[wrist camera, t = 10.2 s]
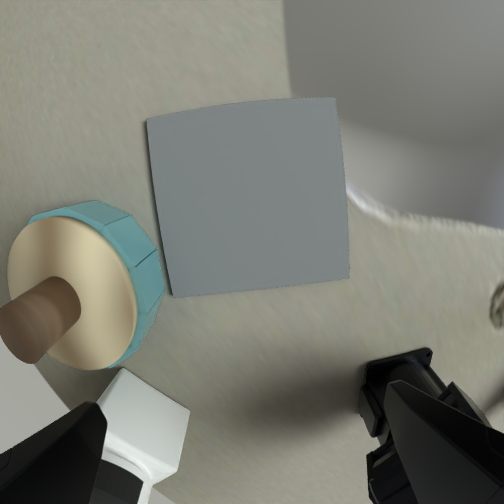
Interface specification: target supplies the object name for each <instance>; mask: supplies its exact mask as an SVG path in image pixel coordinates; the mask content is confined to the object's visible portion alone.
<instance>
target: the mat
mask: <svg viewBox="0 0 504 504" xmlns="http://www.w3.org/2000/svg"><path fill="white" fill-rule="evenodd" d="M146 120H147V131H148V142H149V151H150V160H151V169H152V177H153V184H154V192H155V199H156V205H157V212H158V218H159V224H160V230H161V236H162V242H163V248H164V253H165V258H166V263H167V269H168V274H169V278H170V283H171V288H172V293H173V297H174V298H177V297H189V296H200V295H211V294H222V293H232V292H242V291H251V290H260V289H269V288H278V287H287V286H295V285H303V284H311V283H319V282H326V281H334V280H341V279H349V234H348V214H347V198H346V185H345V173H344V163H343V154H342V144H341V135H340V128H339V120H338V113H337V106H336V100H335V97H320V98H318V97H315V98H290V99H274V100H262V101H252V102H242V103H234V104H226V105H219V106H212V107H206V108H200V109H194V110H188V111H183V112H178V113H172V114H168V115H163V116H158V117H154V118H149V119H146Z"/></svg>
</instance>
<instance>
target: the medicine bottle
mask: <svg viewBox="0 0 504 504" xmlns="http://www.w3.org/2000/svg"><path fill="white" fill-rule="evenodd" d="M96 403H97V404H98V405H99V406H100V408H101V410H102V412H103V414H104V415H105V417H106V419H107V423H108V426H107V432H106V437H105V442H104V447H103V453H102V458H101V463H100V467H99V470H98V474H97V477H96V481H95V484H94V488H93V492H92V495H91V499H90V503H89V504H148V499H149V496H150V492H151V489H152V485H154V484H156V483H158V482H159V481H161V480H163V479H165V478H167V477H168V476H170V475H172V474H174V473H175V472H176V471H177V470H178V466H179V461H180V456H181V452H182V447H183V443H184V438H185V434H186V429H187V425H188V420H189V416H190V411H189V410H188V409H187V408H185V407H183V406H181V405H180V404H178V403H176V402H175V401H173V400H172V399H170V398H168V397H167V396H165V395H164V394H162V393H160V392H159V391H157V390H156V389H154V388H153V387H151V386H150V385H148V384H147V383H145V382H144V381H142V380H141V379H139V378H138V377H136V376H135V375H134V374H132V373H131V372H129V371H128V370H127V369H125V368H122V369H120V371H119V372H118V373H117V375H116V376H115V377H114V379H113V380H112V381H111V383H110V384H109V385H108V387H107V388H106V389H105V391H104V392H103V394H102V395H101V396H100V398H99V399H98V400H97V402H96Z"/></svg>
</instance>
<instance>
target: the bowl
mask: <svg viewBox="0 0 504 504" xmlns="http://www.w3.org/2000/svg"><path fill="white" fill-rule="evenodd" d="M130 215H131V214H128V213H126V212H124V211H121V210H119V209H117V208H114V207H112V206H110V205H108V204H105V203H103V202H101V201H98V200H94V201H90V202H85V203H81V204H77V205H72V206H68V207H64V208H60V209H56V210H52V211H48V212H45V213H41V214H37V215H34V216H33V217H32V218H31V219H30V221H29V222H28V224H27V225H26V226H28V225H29V224H31V223H32V222H35V221H37V220H40V219H43V218H47V217H51V216H69V217H74V218H76V219H79V220H82V221H84V222H85V223H87V224H89V225H91V226H92V227H94V228H95V229H96V230H98V231H99V232H100V233H101V234H102V235H103V236H104V237H106V238H107V239H108V240H109V242H110V243H111V244H112V245H113V246H114V247H115V249H116V250H117V252H118V253H119V255H120V256H121V257H122V259H123V261H124V263H125V265H126V266H127V268H128V271H129V273H130V275H131V278H132V280H133V284H134V287H135V290H136V295H137V300H138V323H137V328H136V332H135V334H134V337H133V339H132V341H131V343H130V345H129V346H128V348H127V349H126V351H125V352H124V354H123V355H122V356H121V357H120V359H118V360H117V361H116V362H115V363H113V364H112V365H110V366H108V367H105V368H112V367H114V366H115V365H117V364H118V363H120V362H121V361H123V360H124V359H126V358H127V357H129V356H130V355H132V354H133V353H135V352H136V351H137V350H138V348H139V347H140V345H141V343H142V341H143V340H144V338H145V336H146V335H147V333H148V331H149V330H150V328H151V326H152V325H153V323H154V322H155V319H156V315H157V312H158V309H159V306H160V303H161V300H162V297H163V294H164V291H165V285H164V281H163V276H162V271H161V266H160V261H159V256H158V251H157V249H156V246H155V245H154V244H153V243H152V241H151V240H150V239H149V237H148V236H147V235H146V234H145V232H144V231H143V230H142V228H141V227H140V226H139V224H138V223H137V222H136V220H135V219H134V218H133V216H132V215H131V216H130ZM26 226H25V227H26Z"/></svg>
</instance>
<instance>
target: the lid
mask: <svg viewBox="0 0 504 504" xmlns="http://www.w3.org/2000/svg"><path fill="white" fill-rule="evenodd" d="M7 279H8V288H9V293H10V297H11V300H12V301H11V302H9V303H8V304H6V305H5V306H3V307H2V308H0V335H1V338H2V340H3V342H4V343H5V345H6V346H7V347H8V349H9V350H10V351H11V352H12V354H14V355H15V356H16V357H17V358H18V359H20V360H21V361H23V362H26V363H28V364H34V363H36V362H37V361H38V360H39V359H40V358H41V357H42V356H43V355H44V354H45V353H47V354H49V355H50V356H52V357H53V358H55V359H56V360H58V361H60V362H61V363H63V364H66V365H68V366H71V367H74V368H77V369H83V370H98V369H102V368H105V367H108V366H110V365H112V364H113V363H115V362H116V361H117V360H118V359H120V357H121V356H122V355H123V354H124V352H125V351H126V349H127V348H128V346H129V345H130V343H131V341H132V339H133V337H134V334H135V332H136V328H137V323H138V300H137V295H136V290H135V287H134V284H133V280H132V278H131V275H130V273H129V271H128V268H127V266H126V265H125V263H124V261H123V259H122V257H121V256H120V255H119V253H118V252H117V250H116V249H115V247H114V246H113V245H112V244H111V243H110V242H109V240H108V239H107V238H106V237H104V236H103V235H102V234H101V233H100V232H99V231H98V230H96V229H95V228H94V227H92V226H91V225H89V224H87V223H85V222H84V221H82V220H79V219H76V218H74V217H69V216H51V217H47V218H43V219H40V220H37V221H35V222H32V223H31V224H29V225H28V226H26V227H25V228H24V229H23V230H22V231H21V232H20V233H19V235H18V236H17V237H16V239H15V241H14V243H13V245H12V248H11V250H10V254H9V258H8V266H7Z"/></svg>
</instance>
